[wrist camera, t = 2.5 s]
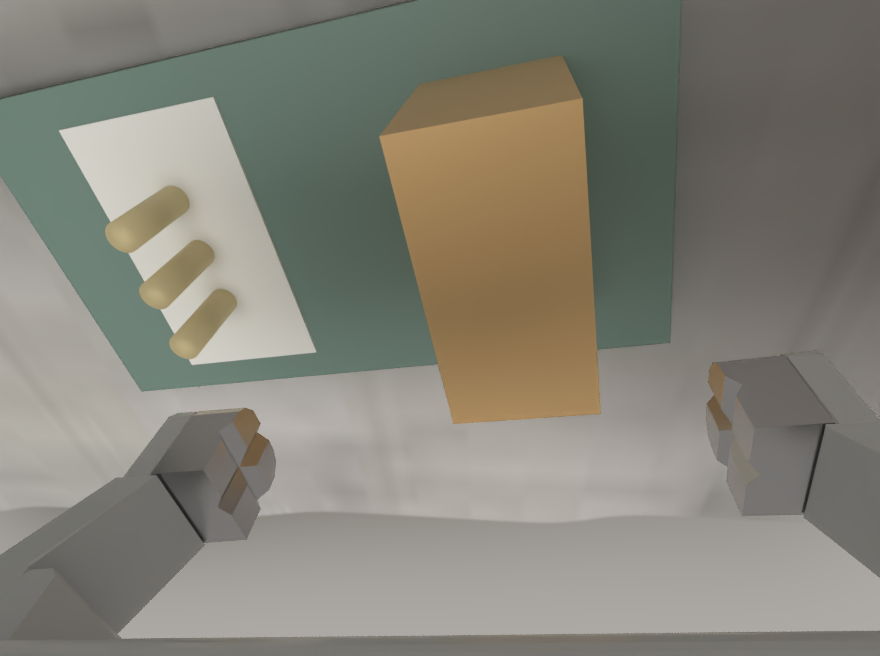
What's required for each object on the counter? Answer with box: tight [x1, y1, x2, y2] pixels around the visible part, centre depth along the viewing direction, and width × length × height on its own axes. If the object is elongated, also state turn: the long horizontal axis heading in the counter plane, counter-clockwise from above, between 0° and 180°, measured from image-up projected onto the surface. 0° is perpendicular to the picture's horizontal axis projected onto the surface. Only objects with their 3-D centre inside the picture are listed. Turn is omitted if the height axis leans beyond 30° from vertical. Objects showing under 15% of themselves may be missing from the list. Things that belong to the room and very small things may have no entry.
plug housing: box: [379, 55, 601, 424], centre depth 15 cm, size 4×8×6 cm, turn 12°
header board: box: [0, 0, 681, 391], centre depth 18 cm, size 22×12×5 cm, turn 102°
